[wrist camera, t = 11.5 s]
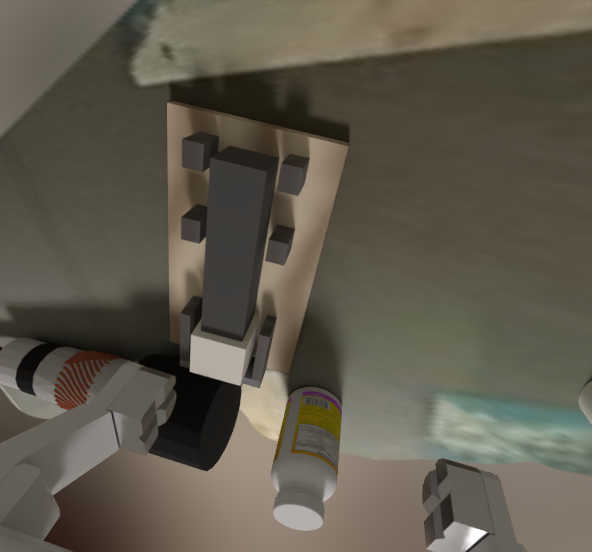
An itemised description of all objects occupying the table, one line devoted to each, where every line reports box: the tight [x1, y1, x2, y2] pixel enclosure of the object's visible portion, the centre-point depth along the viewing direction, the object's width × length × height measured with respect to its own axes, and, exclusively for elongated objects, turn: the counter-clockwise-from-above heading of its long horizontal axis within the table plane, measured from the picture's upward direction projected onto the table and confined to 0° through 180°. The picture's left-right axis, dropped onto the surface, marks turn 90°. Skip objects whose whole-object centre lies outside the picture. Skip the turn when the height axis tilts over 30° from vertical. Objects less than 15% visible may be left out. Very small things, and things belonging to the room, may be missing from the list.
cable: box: [0, 338, 241, 471], centre depth 42 cm, size 10×34×10 cm, turn 86°
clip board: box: [167, 101, 349, 388], centre depth 32 cm, size 14×25×4 cm, turn 169°
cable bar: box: [190, 146, 279, 386], centre depth 31 cm, size 5×21×5 cm, turn 169°
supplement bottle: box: [271, 387, 342, 531], centre depth 38 cm, size 7×7×13 cm
